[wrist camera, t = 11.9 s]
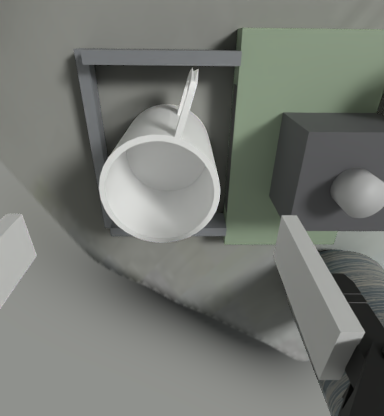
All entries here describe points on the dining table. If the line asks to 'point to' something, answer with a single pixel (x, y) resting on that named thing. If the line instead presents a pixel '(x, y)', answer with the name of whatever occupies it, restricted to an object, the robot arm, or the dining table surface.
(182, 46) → the dining table surface
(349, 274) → the vase
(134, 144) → the cup
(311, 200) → the square frame with panel
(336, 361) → the robot arm
